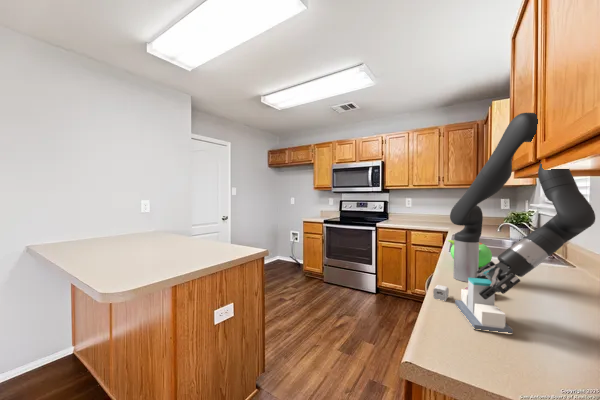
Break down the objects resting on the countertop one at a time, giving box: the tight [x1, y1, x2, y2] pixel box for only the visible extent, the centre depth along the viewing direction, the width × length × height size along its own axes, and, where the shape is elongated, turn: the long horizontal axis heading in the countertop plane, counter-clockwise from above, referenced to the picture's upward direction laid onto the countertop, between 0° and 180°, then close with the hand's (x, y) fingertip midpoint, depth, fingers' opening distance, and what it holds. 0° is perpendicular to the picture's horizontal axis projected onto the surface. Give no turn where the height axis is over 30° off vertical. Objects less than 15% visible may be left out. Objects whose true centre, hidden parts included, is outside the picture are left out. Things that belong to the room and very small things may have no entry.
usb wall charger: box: [432, 284, 450, 302], centre depth 93 cm, size 4×7×4 cm, turn 139°
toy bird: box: [447, 239, 493, 268], centre depth 131 cm, size 18×17×15 cm
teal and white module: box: [467, 278, 496, 313], centre depth 77 cm, size 4×6×10 cm
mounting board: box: [454, 288, 514, 333], centre depth 77 cm, size 17×9×6 cm, turn 164°
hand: (476, 291), depth 77 cm, fingers open, 8 cm apart
